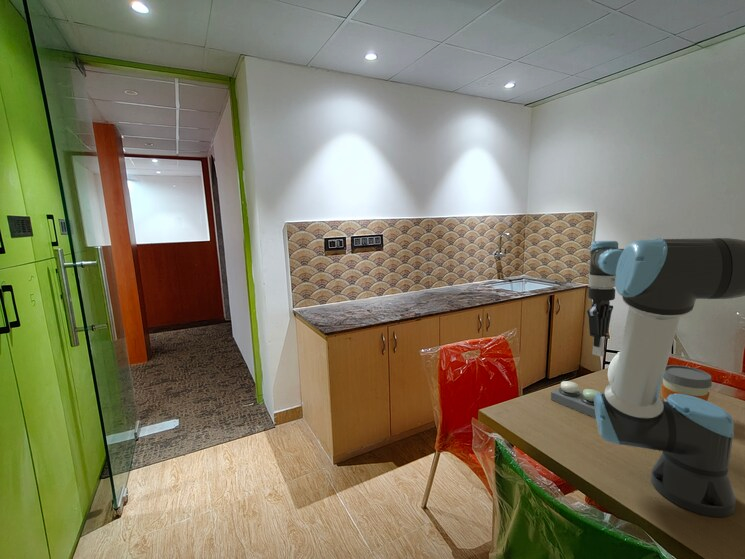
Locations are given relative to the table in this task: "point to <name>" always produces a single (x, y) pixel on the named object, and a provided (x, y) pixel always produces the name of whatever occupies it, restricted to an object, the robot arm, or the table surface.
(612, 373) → the sauce bottle
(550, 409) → the table surface
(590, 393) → the sage button
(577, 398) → the button panel
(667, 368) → the reusable coffee cup
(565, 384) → the cream button
